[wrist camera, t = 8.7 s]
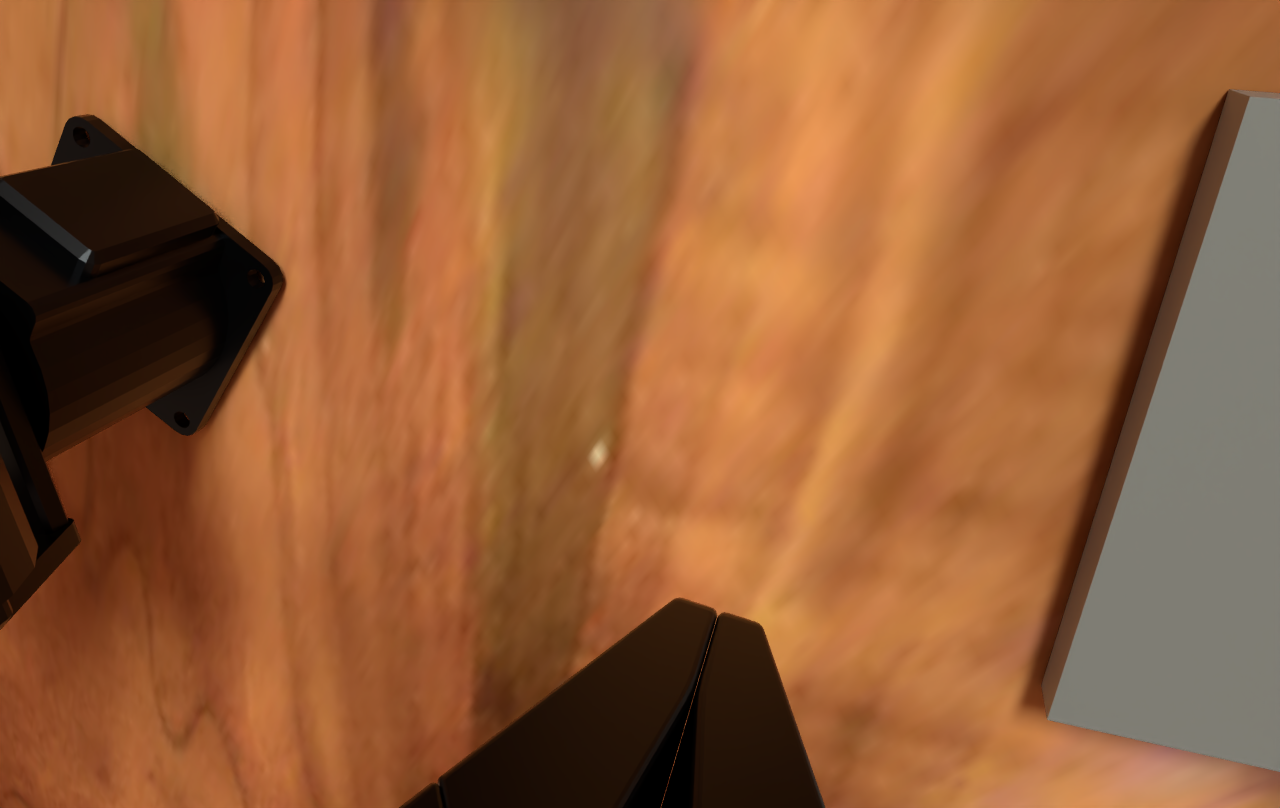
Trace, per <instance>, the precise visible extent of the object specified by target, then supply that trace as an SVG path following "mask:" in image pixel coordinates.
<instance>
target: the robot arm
mask: <svg viewBox="0 0 1280 808" xmlns="http://www.w3.org/2000/svg"><path fill="white" fill-rule="evenodd" d="M86 131H87V132H88V134H89V137H90V141H89V140H88V139H87V136H86ZM257 271H259V272H260V273H261V274H262V275H263V277H264V280H265V283H263V282H261V280H260V279H259V278H258V275H257ZM282 282H283V278H282V273H281V271H280V268H279V266H278V265H277V264H276V263H275V262H274V261H273V260H272V259H271V258H270V257H268V256H267V255H266V254H265V253H263V252H262V251H261V250H260V249H258V248H257V247H256V246H255V245H254V244H252V243H251V242H250V241H249V240H247V239H246V238H245V237H244V236H243V235H241V234H240V233H239V232H238V231H236V230H235V229H234V228H233V227H232V226H230V225H229V224H228V223H227V222H225V221H224V220H223V219H222V218H221V217H219V216H218V215H217V214H216V213H215V212H214V211H213V210H212V209H211V208H210V207H209V206H207V205H206V204H205V203H204V202H203V201H201V200H200V199H199V198H198V197H196V196H195V195H194V194H193V193H192V192H190V191H189V190H188V189H187V188H185V187H184V186H183V185H182V184H181V183H179V182H178V181H177V180H176V179H174V178H173V177H172V176H171V175H170V174H168V173H167V172H166V171H165V170H163V169H162V168H161V167H160V166H159V165H157V164H156V163H155V162H154V161H152V160H151V159H150V158H149V157H148V156H146V155H145V154H144V153H143V152H141V151H140V150H138V149H136V148H135V147H134V146H132V145H131V144H130V143H129V142H128V141H126V140H125V139H124V138H123V137H121V136H120V135H119V134H118V133H117V132H115V131H114V130H113V129H112V128H110V127H109V126H108V125H107V124H106V123H104V122H103V121H102V120H101V119H99V118H97V117H96V116H94V115H88V114H87V115H80V116H74V117H72V118H70V119H68V121H67V122H66V124H65V127H64V129H63V132H62V135H61V138H60V141H59V144H58V147H57V150H56V152H55V155H54V158H53V161H52V164H51V166H47V167H42V168H38V169H33V170H28V171H23V172H19V173H14V174H9V175H4V176H0V630H1V629H2V628H3V627H4V625H5V624H6V623H7V622H8V621H9V620H10V619H11V618H12V617H13V615H14V614H15V613H16V612H17V611H18V610H19V609H20V608H21V607H22V606H23V604H24V603H25V602H26V601H27V600H28V599H29V598H30V597H31V596H32V595H33V594H34V592H35V591H36V590H37V589H38V588H39V587H40V586H41V585H42V584H43V583H44V581H45V580H46V579H47V578H48V577H49V576H50V575H51V574H52V573H53V572H54V570H55V569H56V568H57V567H58V566H59V565H60V564H61V563H62V562H63V561H64V560H65V558H66V557H67V556H68V555H69V554H70V553H71V552H72V551H73V550H74V549H75V547H76V546H77V545H78V544H79V543H80V542H81V538H80V536H79V533H78V531H77V528H76V525H75V523H74V520H73V519H71V518H68V517H67V515H66V512H65V510H64V507H63V505H62V502H61V499H60V497H59V494H58V492H57V489H56V487H55V484H54V481H53V479H52V476H51V474H50V471H49V469H48V466H47V463H46V461H48V460H50V459H51V458H53V457H55V456H57V455H59V454H60V453H62V452H64V451H66V450H68V449H70V448H71V447H73V446H75V445H77V444H79V443H81V442H82V441H84V440H86V439H88V438H90V437H91V436H93V435H95V434H97V433H99V432H101V431H102V430H104V429H106V428H108V427H110V426H112V425H113V424H115V423H117V422H119V421H121V420H122V419H124V418H126V417H128V416H130V415H132V414H133V413H135V412H137V411H139V410H141V409H143V408H144V407H146V408H148V409H149V410H150V411H151V412H153V413H154V414H155V415H156V416H158V417H159V418H160V419H161V420H163V421H164V422H165V423H166V424H168V425H169V426H170V427H171V428H173V429H174V430H175V431H177V432H178V433H180V434H182V435H187V436H188V435H192V434H194V433H196V432H197V431H199V430H200V429H202V428H203V427H204V426H205V425H206V423H207V421H208V420H209V418H210V416H211V414H212V412H213V411H214V409H215V407H216V405H217V403H218V401H219V400H220V398H221V396H222V394H223V392H224V390H225V389H226V387H227V385H228V383H229V381H230V380H231V378H232V376H233V374H234V372H235V370H236V369H237V367H238V365H239V363H240V361H241V359H242V358H243V356H244V354H245V352H246V350H247V349H248V347H249V345H250V343H251V341H252V339H253V338H254V336H255V334H256V332H257V330H258V328H259V327H260V325H261V323H262V321H263V319H264V318H265V316H266V314H267V312H268V310H269V308H270V307H271V305H272V303H273V301H274V299H275V297H276V296H277V294H278V292H279V290H280V288H281V286H282ZM184 413H185V414H186V415H187V417H188V418H189V420H188V419H187V417H186V416H185V414H184ZM716 619H717V621H716ZM715 622H716V624H715ZM714 625H715V627H714ZM713 629H714V631H713ZM712 632H713V634H712ZM711 635H712V637H711ZM710 639H711V641H710ZM709 642H710V644H709ZM708 646H709V648H708ZM707 649H708V651H707ZM706 652H707V654H706ZM705 656H706V658H705ZM704 659H705V661H704ZM703 663H704V664H703ZM702 666H703V668H702ZM701 669H702V671H701ZM700 673H701V675H700ZM699 676H700V678H699ZM698 679H699V681H698ZM697 683H698V685H697ZM696 686H697V688H696ZM695 690H696V692H695ZM694 693H695V695H694ZM693 696H694V698H693ZM692 700H693V702H692ZM691 703H692V705H691ZM690 706H691V708H690ZM689 710H690V712H689ZM688 713H689V715H688ZM687 717H688V719H687ZM686 720H687V722H686ZM685 723H686V725H685ZM684 727H685V729H684ZM683 730H684V732H683ZM682 733H683V735H682ZM681 737H682V739H681ZM680 740H681V742H680ZM679 744H680V746H679ZM678 747H679V749H678ZM677 750H678V752H677ZM676 754H677V756H676ZM675 757H676V759H675ZM674 761H675V763H674ZM673 764H674V766H673ZM672 767H673V769H672ZM671 771H672V773H671ZM670 774H671V776H670ZM669 777H670V779H669ZM668 781H669V783H668ZM667 784H668V786H667ZM666 788H667V790H666ZM665 791H666V793H665ZM664 794H665V796H664ZM663 798H664V800H663ZM662 801H663V803H662ZM661 804H662V806H661ZM399 808H825V805H824V802H823V799H822V796H821V794H820V791H819V788H818V785H817V782H816V779H815V776H814V773H813V770H812V768H811V765H810V762H809V759H808V756H807V753H806V750H805V747H804V744H803V742H802V739H801V736H800V733H799V730H798V727H797V724H796V721H795V718H794V716H793V713H792V710H791V707H790V704H789V701H788V698H787V695H786V692H785V690H784V687H783V684H782V681H781V678H780V675H779V672H778V669H777V666H776V664H775V661H774V658H773V655H772V652H771V649H770V646H769V643H768V640H767V638H766V635H765V632H764V629H763V627H762V626H761V625H760V624H759V623H757V622H754V621H751V620H748V619H745V618H742V617H739V616H736V615H733V614H730V613H726V612H724V613H721V614H720V615H719V616H718V618H717V613H716V611H715V610H714V609H713V608H711V607H708V606H705V605H702V604H699V603H696V602H693V601H690V600H687V599H684V598H676V599H674V600H672V601H671V602H669V603H668V604H667V605H665V606H664V607H663V608H662V609H660V610H659V611H658V612H656V613H655V614H654V615H652V616H651V617H650V618H648V619H647V620H646V621H644V622H643V623H642V624H640V625H639V626H638V627H637V628H635V629H634V630H633V631H631V632H630V633H629V634H627V635H626V636H625V637H623V638H622V639H621V640H619V641H618V642H617V643H615V644H614V645H613V646H612V647H610V648H609V649H608V650H606V651H605V652H604V653H602V654H601V655H600V656H598V657H597V658H596V659H594V660H593V661H592V662H590V663H589V664H588V665H587V666H585V667H584V668H583V669H581V670H580V671H579V672H577V673H576V674H575V675H573V676H572V677H571V678H569V679H568V680H567V681H565V682H564V683H563V684H562V685H560V686H559V687H558V688H556V689H555V690H554V691H552V692H551V693H550V694H548V695H547V696H546V697H544V698H543V699H542V700H541V701H539V702H538V703H537V704H535V705H534V706H533V707H531V708H530V709H529V710H527V711H526V712H525V713H523V714H522V715H521V716H519V717H518V718H517V719H516V720H514V721H513V722H512V723H510V724H509V725H508V726H506V727H505V728H504V729H502V730H501V731H500V732H498V733H497V734H496V735H494V736H493V737H492V738H491V739H489V740H488V741H487V742H485V743H484V744H483V745H481V746H480V747H479V748H477V749H476V750H475V751H473V752H472V753H471V754H469V755H468V756H467V757H466V758H464V759H463V760H462V761H460V762H459V763H458V764H456V765H455V766H454V767H452V768H451V769H450V770H448V771H447V772H446V773H444V774H443V775H442V776H441V777H440V778H439V779H438V783H437V784H436V783H431V784H429V785H428V786H427V787H425V788H424V789H423V790H421V791H420V792H419V793H417V794H416V795H415V796H414V797H412V798H411V799H410V800H408V801H407V802H406V803H404V804H403V805H402V806H401V807H399Z"/></svg>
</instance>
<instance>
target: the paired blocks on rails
mask: <svg viewBox="0 0 1280 808" xmlns="http://www.w3.org/2000/svg"><path fill="white" fill-rule="evenodd" d="M1041 687H1042V693H1043V699H1044V704H1045V710H1046V716H1047V720H1050V721H1055V722H1059V723H1064V724H1068V725H1073V726H1077V727H1082V728H1086V729H1091V730H1095V731H1100V732H1104V733H1109V734H1113V735H1117V736H1122V737H1126V738H1131V739H1135V740H1140V741H1144V742H1149V743H1153V744H1158V745H1162V746H1167V747H1171V748H1175V749H1180V750H1184V751H1189V752H1193V753H1198V754H1202V755H1207V756H1211V757H1216V758H1220V759H1225V760H1229V761H1233V762H1238V763H1242V764H1247V765H1251V766H1256V767H1260V768H1265V769H1269V770H1274V771H1278V772H1280V93H1270V92H1257V91H1244V90H1231V89H1229V91H1228V94H1227V97H1226V101H1225V104H1224V107H1223V110H1222V113H1221V116H1220V120H1219V123H1218V126H1217V129H1216V132H1215V135H1214V139H1213V142H1212V145H1211V148H1210V151H1209V155H1208V158H1207V161H1206V164H1205V167H1204V170H1203V174H1202V177H1201V180H1200V183H1199V186H1198V189H1197V193H1196V196H1195V199H1194V202H1193V205H1192V208H1191V212H1190V215H1189V218H1188V221H1187V224H1186V228H1185V231H1184V234H1183V237H1182V240H1181V243H1180V247H1179V250H1178V253H1177V256H1176V259H1175V262H1174V266H1173V269H1172V272H1171V275H1170V278H1169V281H1168V285H1167V288H1166V291H1165V294H1164V297H1163V300H1162V304H1161V307H1160V310H1159V313H1158V316H1157V320H1156V323H1155V326H1154V329H1153V332H1152V335H1151V339H1150V342H1149V345H1148V348H1147V351H1146V354H1145V358H1144V361H1143V364H1142V367H1141V370H1140V373H1139V377H1138V380H1137V383H1136V386H1135V389H1134V393H1133V396H1132V399H1131V402H1130V405H1129V408H1128V412H1127V415H1126V418H1125V421H1124V424H1123V427H1122V431H1121V434H1120V437H1119V440H1118V443H1117V446H1116V450H1115V453H1114V456H1113V459H1112V462H1111V465H1110V469H1109V472H1108V475H1107V478H1106V481H1105V485H1104V488H1103V491H1102V494H1101V497H1100V500H1099V504H1098V507H1097V510H1096V513H1095V516H1094V519H1093V523H1092V526H1091V529H1090V532H1089V535H1088V538H1087V542H1086V545H1085V548H1084V551H1083V554H1082V558H1081V561H1080V564H1079V567H1078V570H1077V573H1076V577H1075V580H1074V583H1073V586H1072V589H1071V592H1070V596H1069V599H1068V602H1067V605H1066V608H1065V611H1064V615H1063V618H1062V621H1061V624H1060V627H1059V631H1058V634H1057V637H1056V640H1055V643H1054V646H1053V650H1052V653H1051V656H1050V659H1049V662H1048V665H1047V669H1046V672H1045V675H1044V678H1043V681H1042V684H1041Z"/></svg>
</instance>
